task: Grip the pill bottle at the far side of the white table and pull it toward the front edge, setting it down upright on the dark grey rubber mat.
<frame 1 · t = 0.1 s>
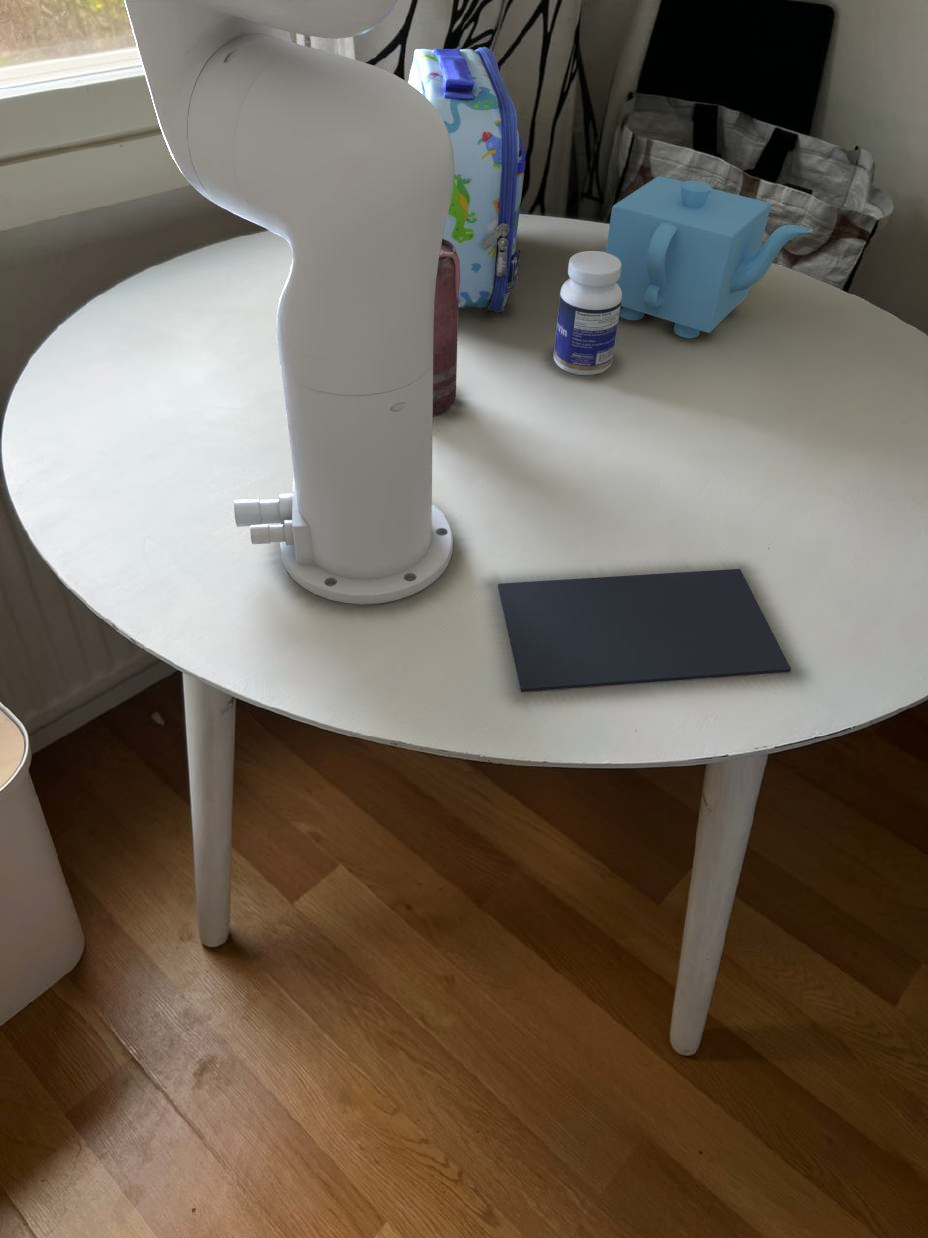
teapot: (696, 321, 96), on the table
mat: (638, 627, 63), on the table
pill bottle: (582, 364, 89), on the table
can: (423, 403, 83), on the table
lunch box: (455, 276, 102), on the table
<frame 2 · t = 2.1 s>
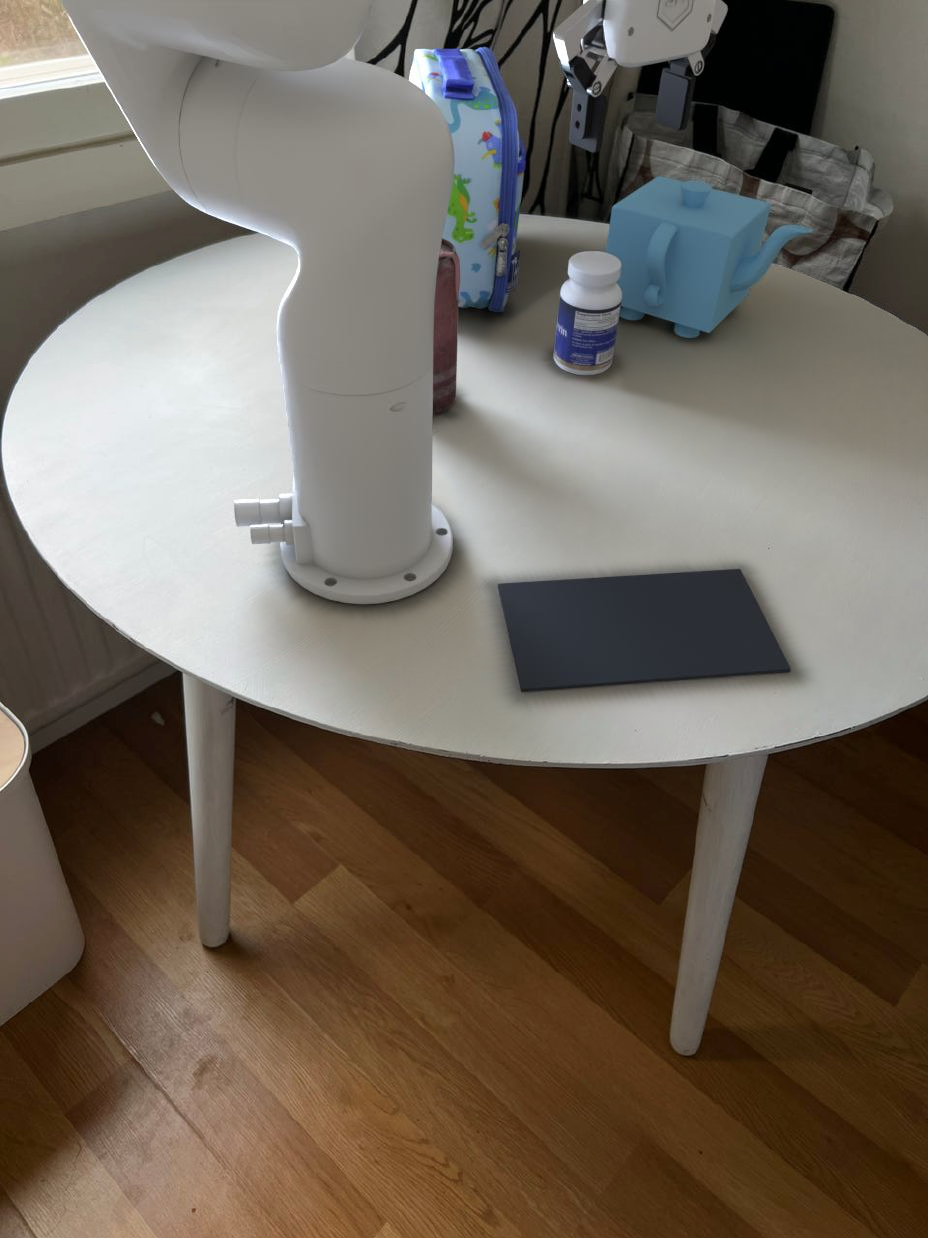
hand: (628, 136, 75), 20 cm above the table, tool pointing down, fingers open, 9 cm apart
nothing on the table moved.
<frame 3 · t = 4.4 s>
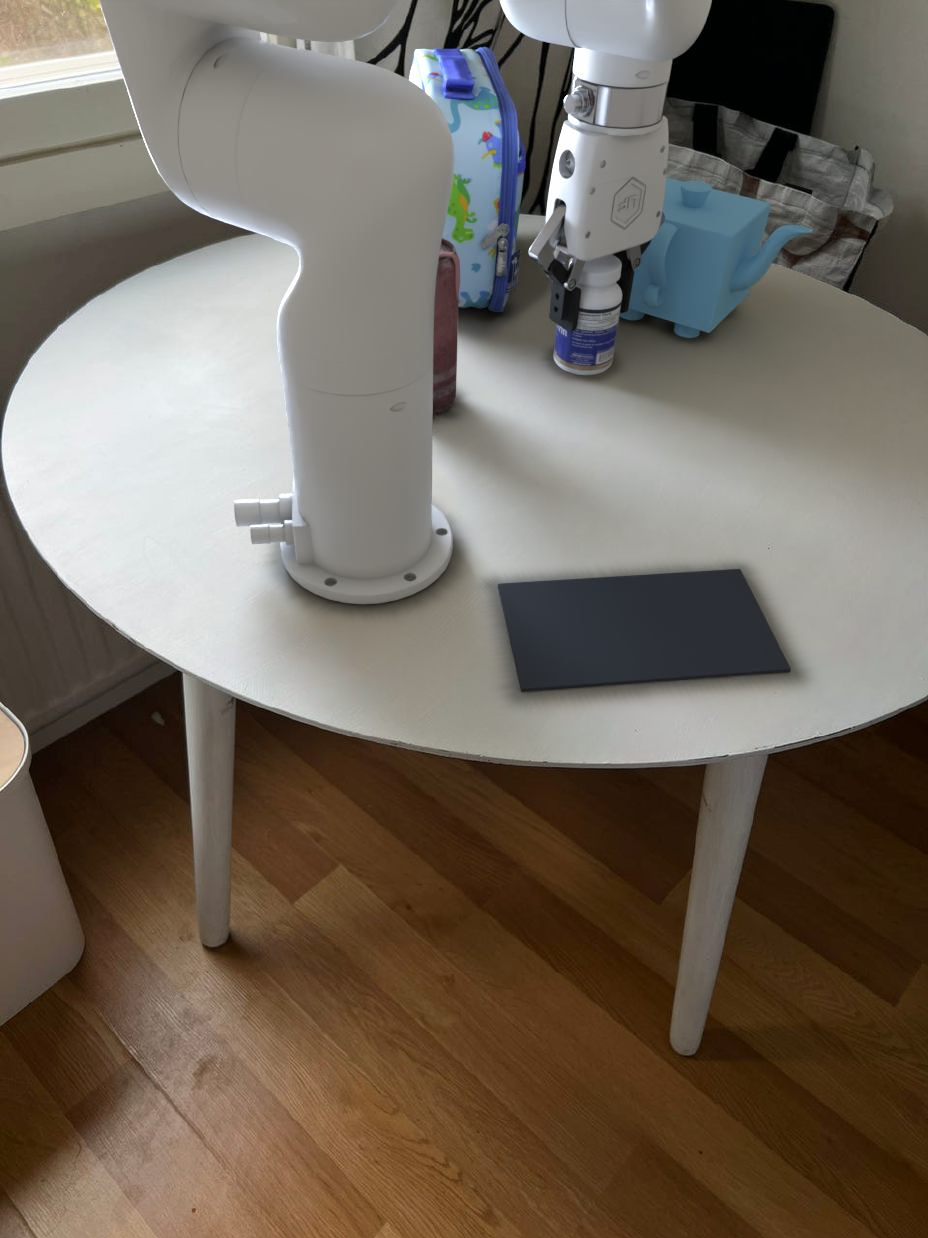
hand: (588, 314, 85), 5 cm above the table, tool pointing down, fingers closed on pill bottle, 5 cm apart
pill bottle: (582, 364, 89), on the table, touching gripper
everything else where it was.
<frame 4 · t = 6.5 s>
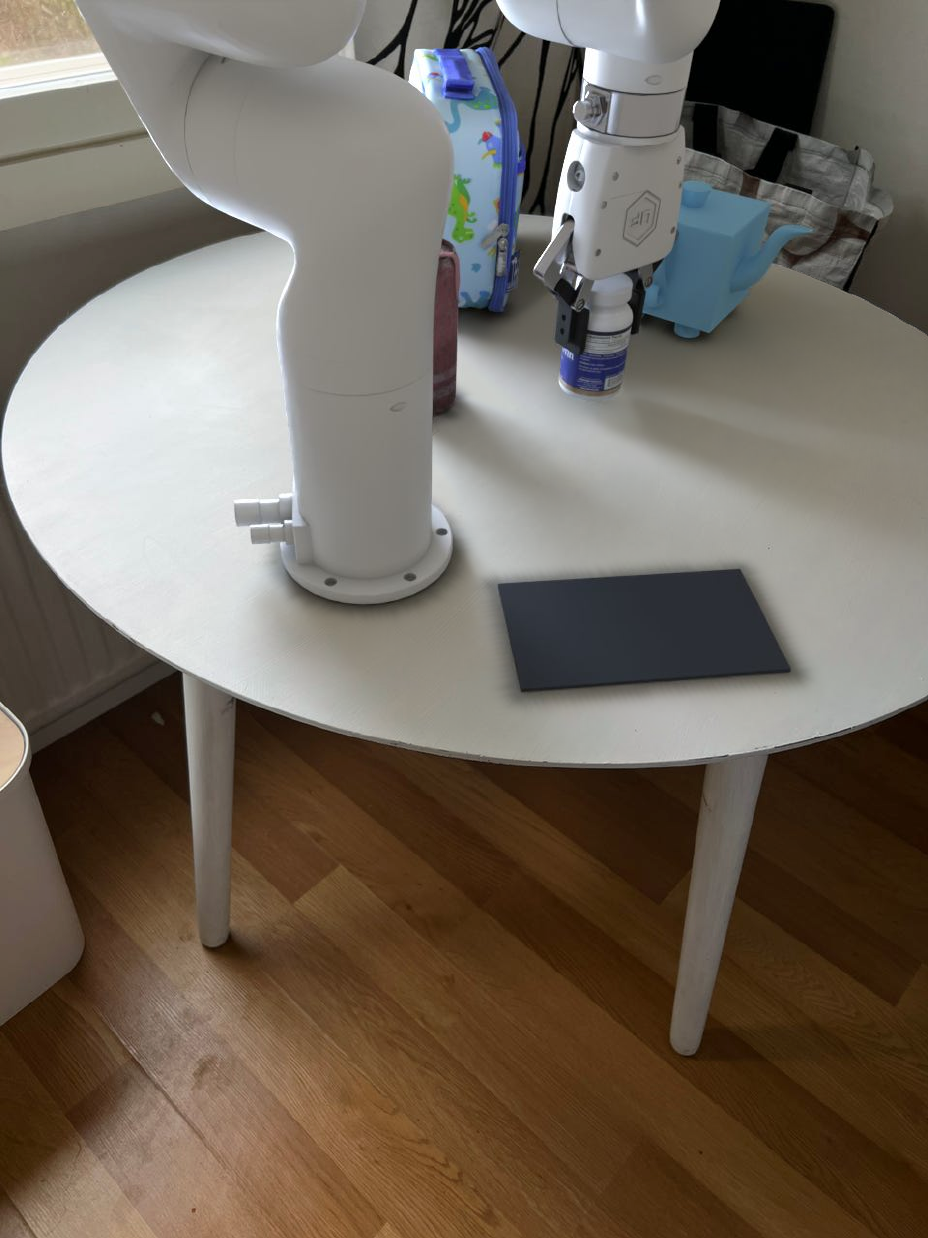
hand: (596, 336, 80), 6 cm above the table, tool pointing down, fingers closed on pill bottle, 5 cm apart
pill bottle: (588, 388, 83), point 1 cm above the table, touching gripper
everything else where it was.
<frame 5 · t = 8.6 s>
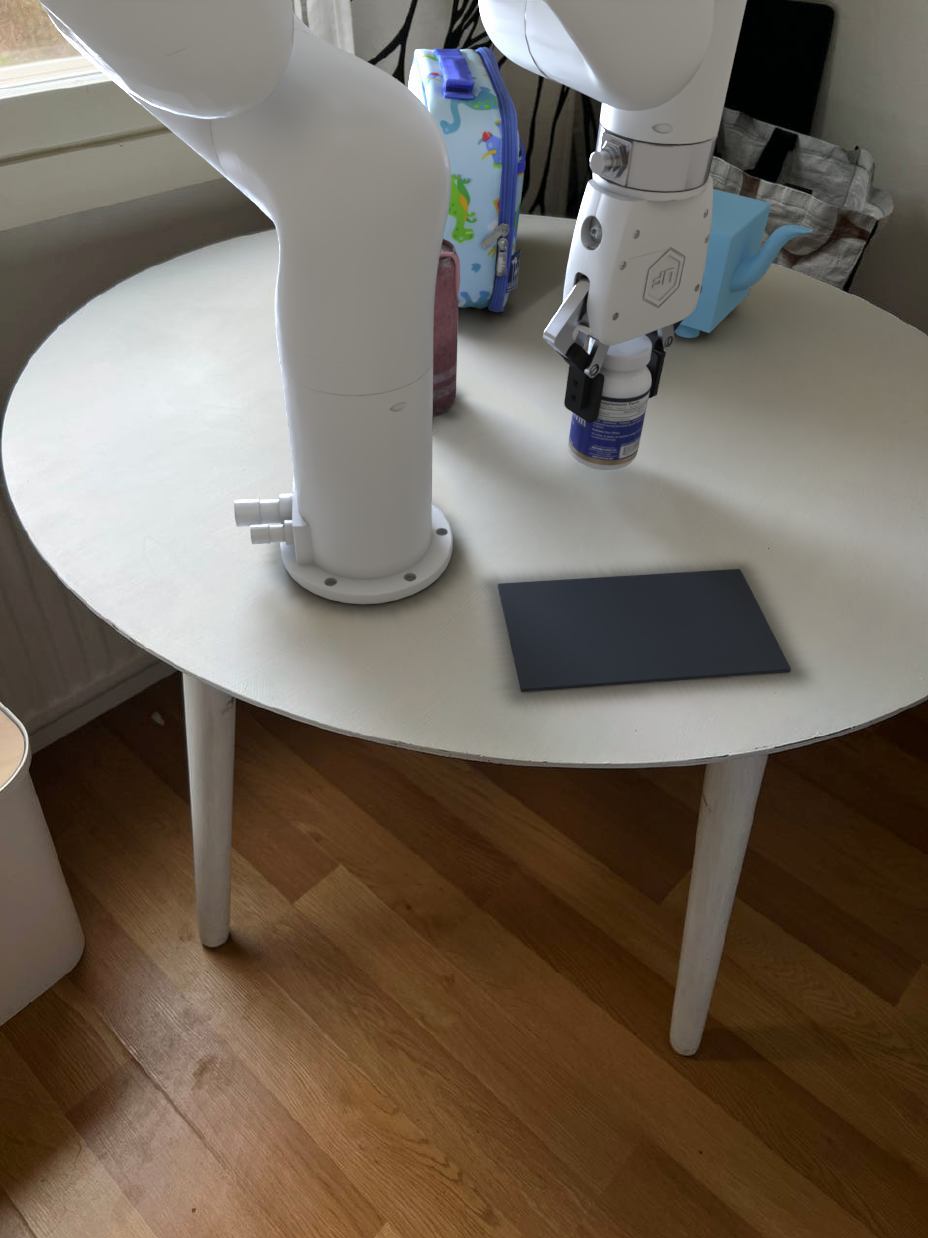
hand: (610, 399, 72), 6 cm above the table, tool pointing down, fingers closed on pill bottle, 5 cm apart
pill bottle: (601, 454, 76), point 1 cm above the table, touching gripper
everything else where it was.
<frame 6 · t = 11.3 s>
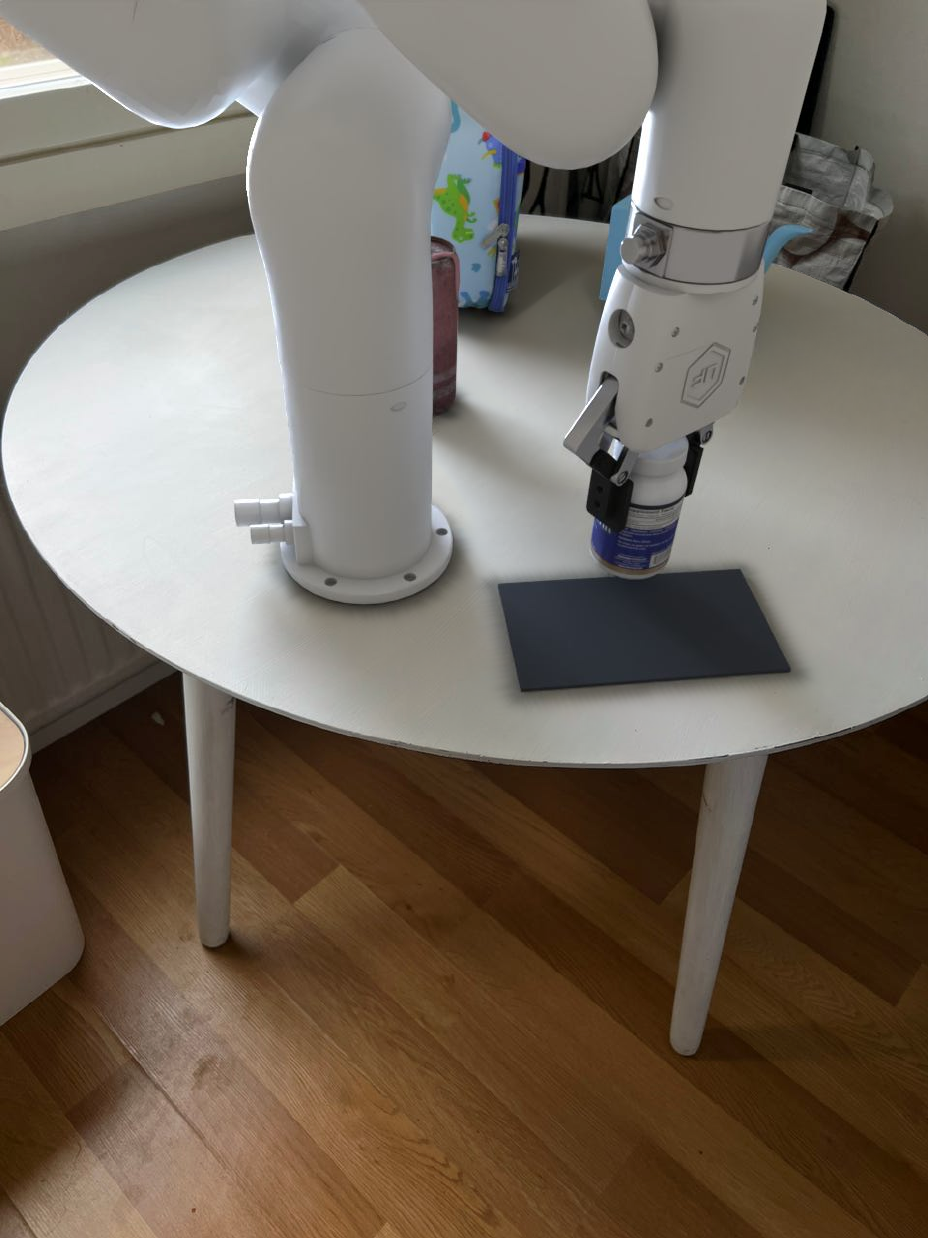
hand: (639, 501, 63), 6 cm above the table, tool pointing down, fingers closed on pill bottle, 5 cm apart
pill bottle: (627, 558, 66), point 1 cm above the table, touching gripper
everything else where it was.
when the fingers open (5 cm above the table, at t = 13.3 s): pill bottle stays where it is, resting on mat.
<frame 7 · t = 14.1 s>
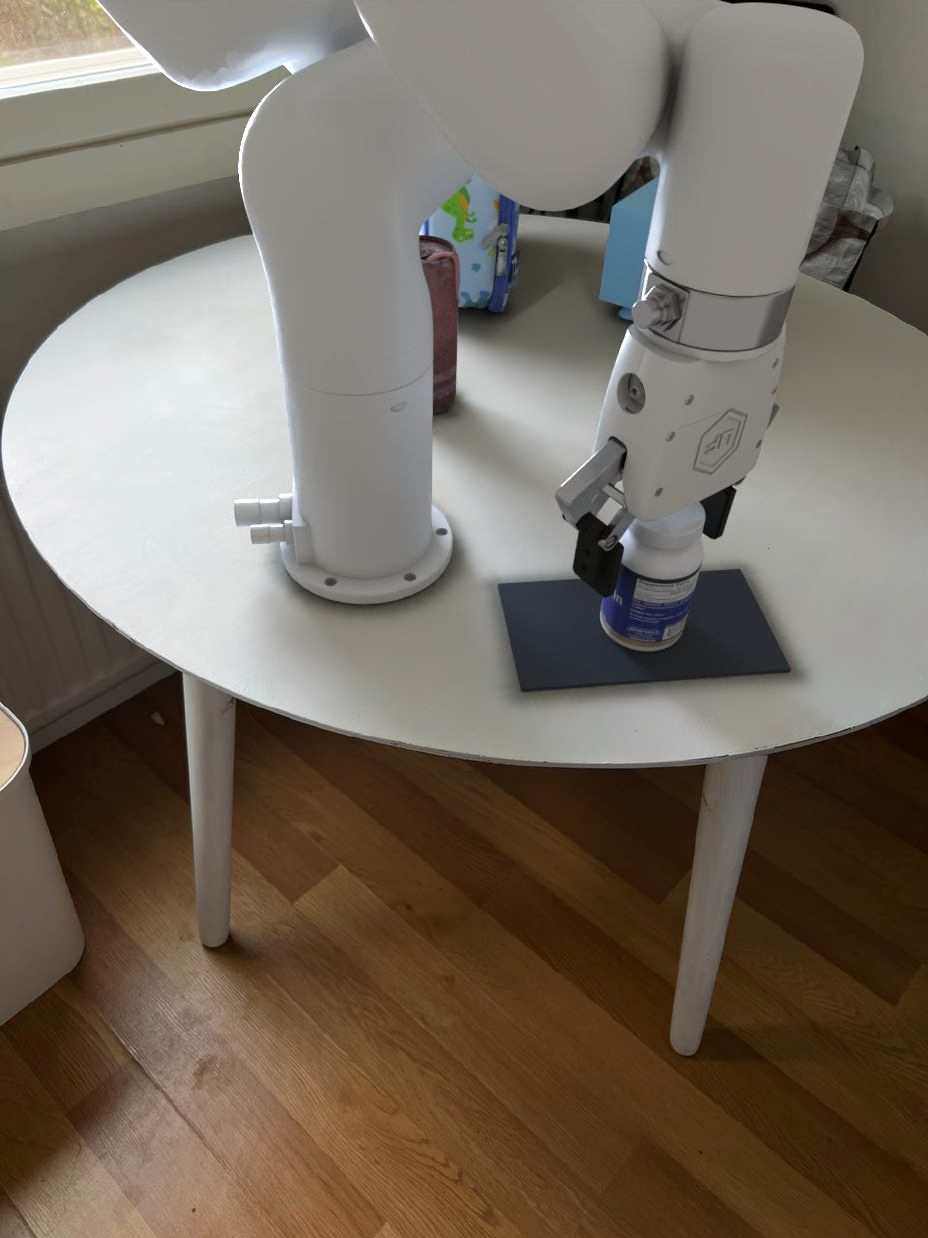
hand: (648, 554, 59), 6 cm above the table, tool pointing down, fingers open, 9 cm apart
pill bottle: (639, 627, 63), resting on mat
everything else where it was.
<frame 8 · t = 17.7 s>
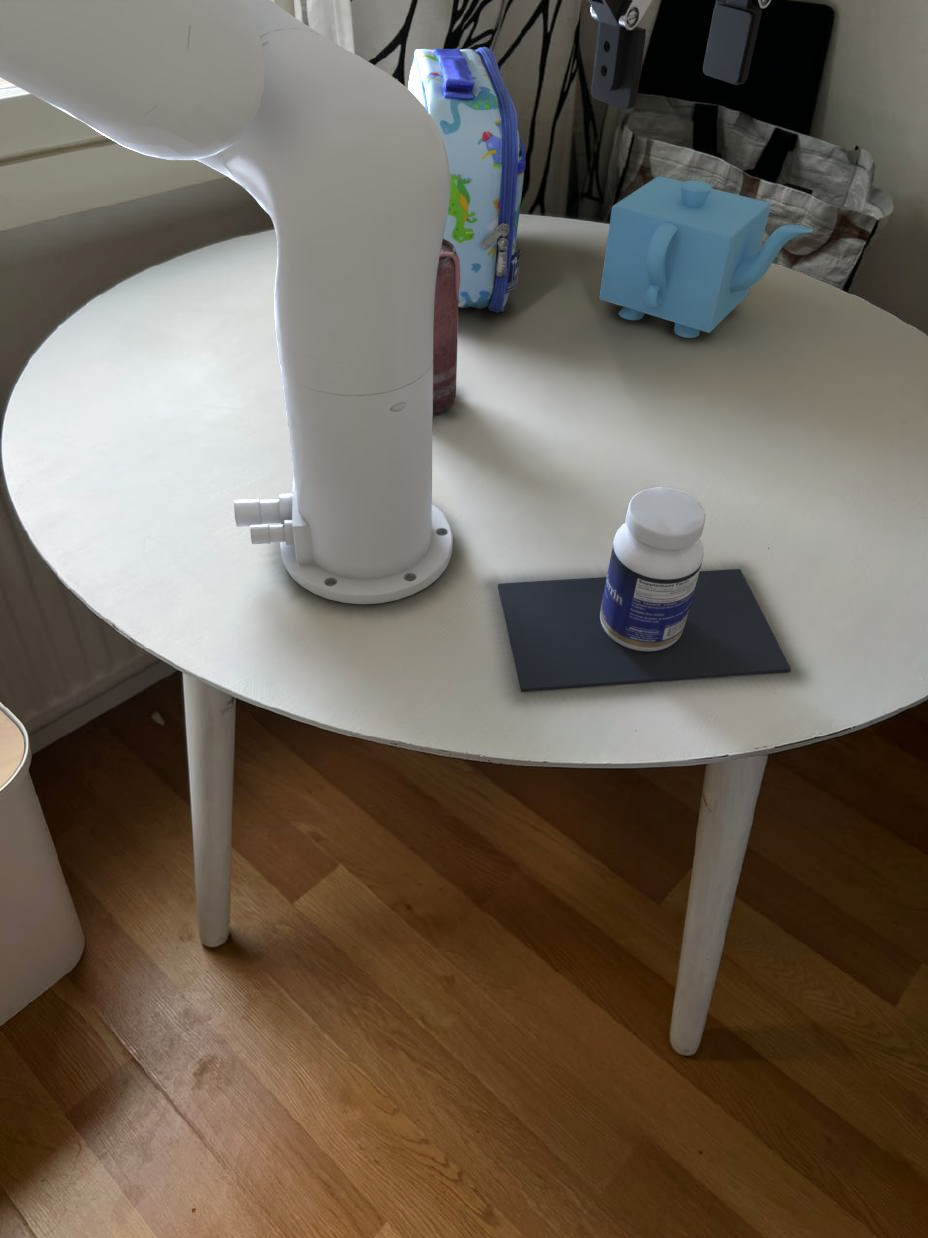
hand: (670, 90, 56), 28 cm above the table, tool pointing down, fingers open, 9 cm apart
nothing on the table moved.
at the end: pill bottle inside the target area on the mat (0.1 cm from its centre), point 0.1 cm above the mat's base; pill bottle tilted 0°; pill bottle moved 36.3 cm from its start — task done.
